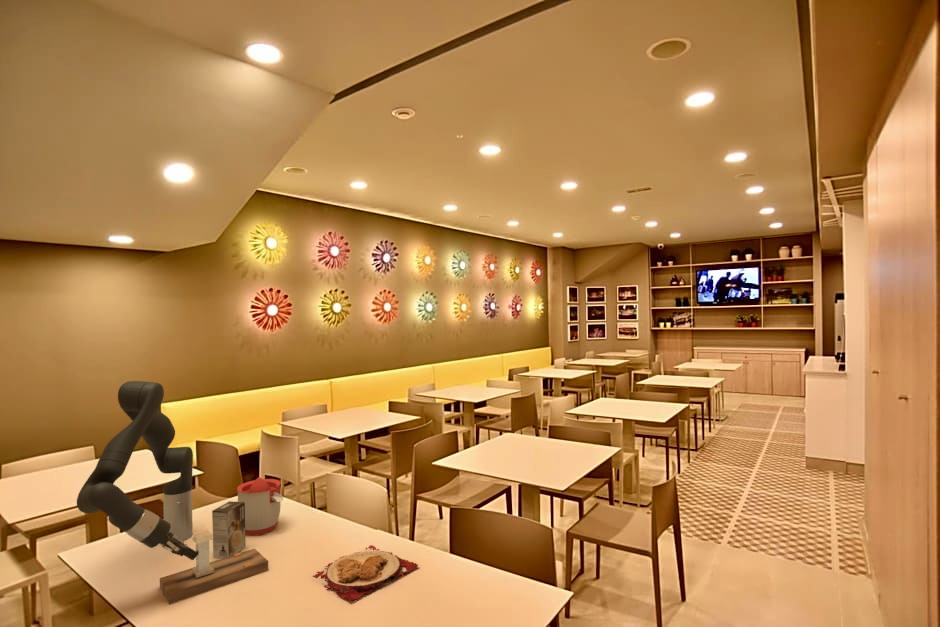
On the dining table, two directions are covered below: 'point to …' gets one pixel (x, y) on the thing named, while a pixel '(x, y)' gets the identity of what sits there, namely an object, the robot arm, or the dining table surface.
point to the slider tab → (202, 554)
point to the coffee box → (228, 529)
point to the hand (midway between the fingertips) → (195, 556)
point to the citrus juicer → (260, 505)
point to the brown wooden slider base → (213, 576)
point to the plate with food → (363, 572)
